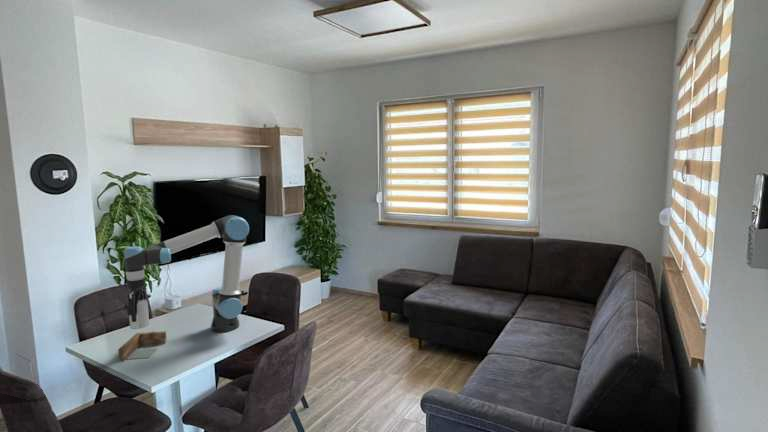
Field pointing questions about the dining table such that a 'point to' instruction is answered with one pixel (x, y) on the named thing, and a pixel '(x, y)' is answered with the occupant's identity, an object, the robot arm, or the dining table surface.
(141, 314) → the cup
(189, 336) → the dining table surface
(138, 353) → the pad
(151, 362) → the dining table surface
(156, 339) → the brown wooden l-shaped wall
